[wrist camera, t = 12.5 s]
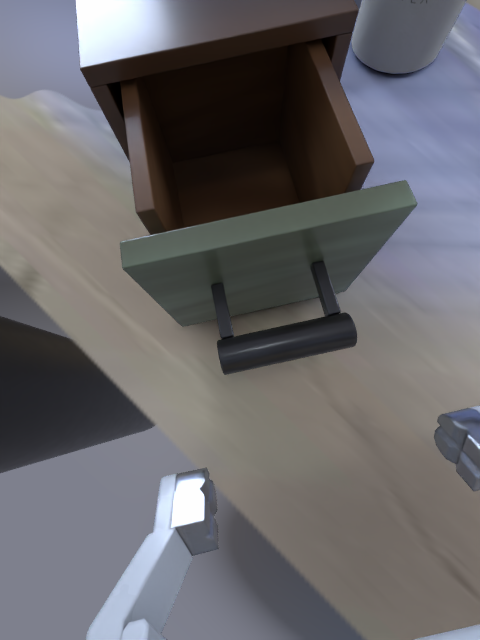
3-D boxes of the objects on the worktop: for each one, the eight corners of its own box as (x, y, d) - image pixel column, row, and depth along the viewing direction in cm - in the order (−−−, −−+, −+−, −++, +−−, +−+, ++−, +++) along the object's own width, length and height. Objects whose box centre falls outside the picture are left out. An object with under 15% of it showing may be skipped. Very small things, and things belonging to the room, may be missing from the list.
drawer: (366, 352, 18) (469, 310, 9) (191, 391, 18) (132, 384, 9) (293, 141, 23) (316, -13, 14) (157, 170, 22) (98, 33, 14)
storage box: (312, 186, 22) (359, 9, 12) (159, 219, 22) (79, 68, 12) (269, 64, 26) (278, -146, 16) (140, 91, 26) (68, -103, 16)
